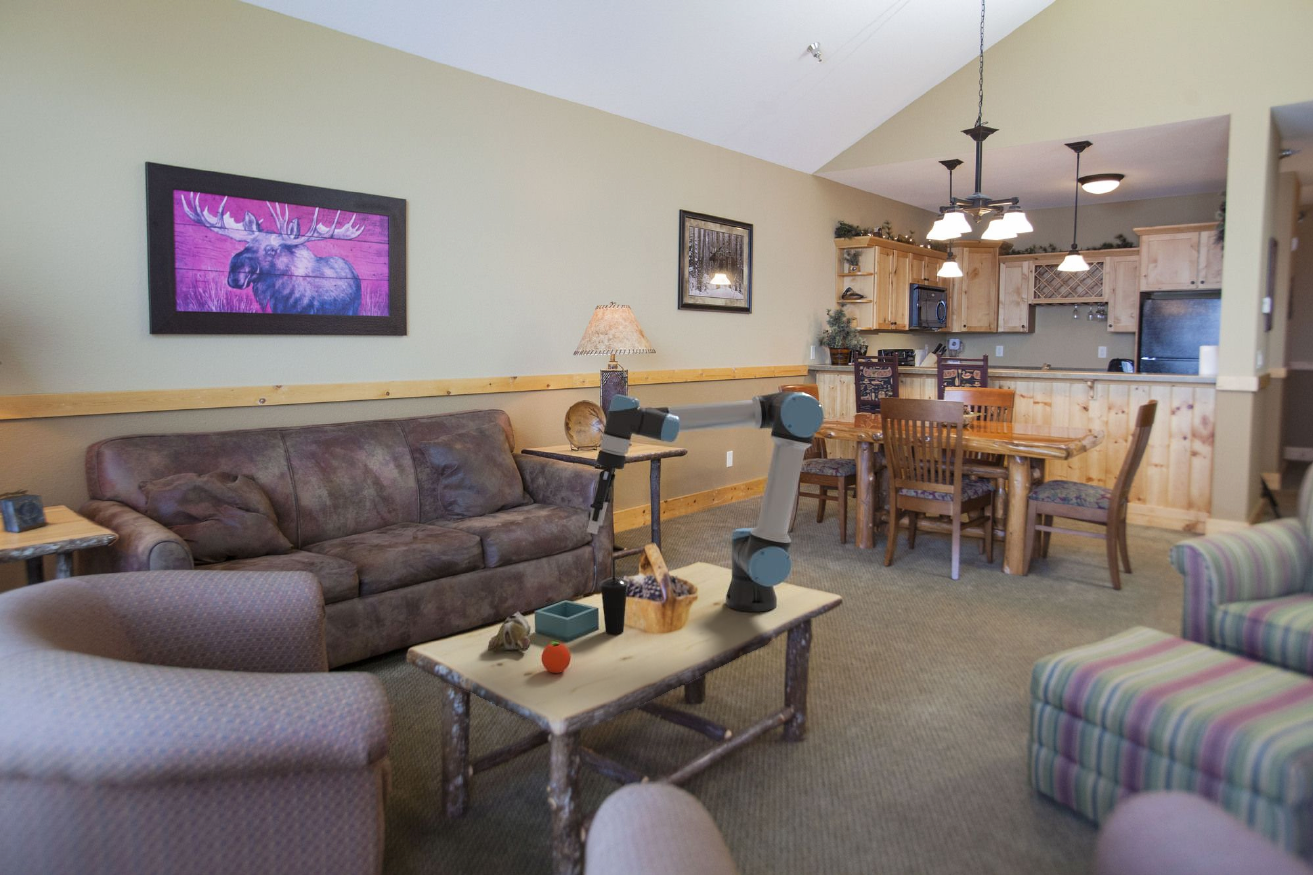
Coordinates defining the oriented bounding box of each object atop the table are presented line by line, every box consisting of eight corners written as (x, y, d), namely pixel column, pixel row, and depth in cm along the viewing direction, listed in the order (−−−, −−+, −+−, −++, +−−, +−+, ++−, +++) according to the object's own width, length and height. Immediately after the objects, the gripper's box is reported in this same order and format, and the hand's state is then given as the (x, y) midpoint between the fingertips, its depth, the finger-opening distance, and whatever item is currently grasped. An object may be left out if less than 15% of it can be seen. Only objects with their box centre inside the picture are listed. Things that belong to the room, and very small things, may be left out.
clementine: (537, 667, 194) (536, 638, 193) (564, 662, 197) (564, 634, 196) (546, 679, 187) (545, 649, 186) (575, 674, 190) (574, 645, 189)
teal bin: (598, 629, 221) (598, 607, 220) (568, 642, 211) (567, 619, 210) (566, 620, 228) (565, 600, 227) (535, 632, 218) (534, 611, 218)
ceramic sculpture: (537, 605, 214) (526, 627, 199) (539, 636, 215) (528, 660, 200) (497, 605, 214) (483, 628, 200) (499, 636, 216) (485, 661, 201)
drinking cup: (616, 638, 213) (615, 564, 211) (594, 632, 218) (593, 560, 216) (634, 630, 219) (633, 558, 217) (613, 625, 224) (611, 554, 222)
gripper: (604, 445, 229) (586, 518, 230) (594, 452, 204) (575, 533, 205) (629, 452, 228) (612, 524, 230) (623, 459, 204) (603, 540, 205)
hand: (594, 528), depth 217 cm, fingers open, 13 cm apart
